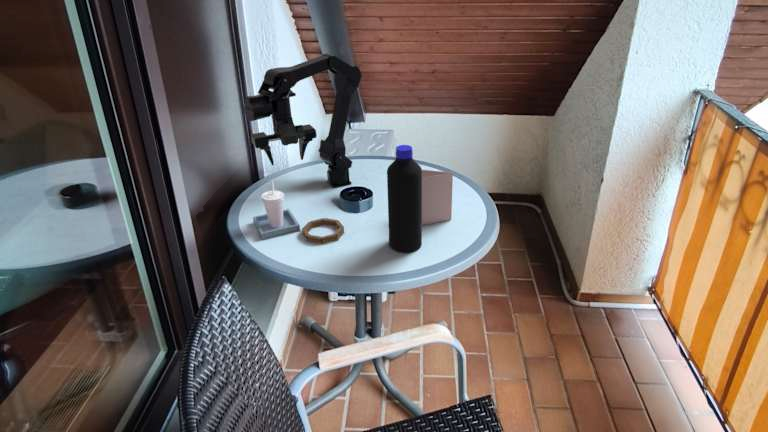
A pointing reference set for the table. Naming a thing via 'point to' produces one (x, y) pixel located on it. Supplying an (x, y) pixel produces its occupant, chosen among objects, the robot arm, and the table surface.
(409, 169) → the bottle
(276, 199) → the smoothie
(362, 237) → the table surface
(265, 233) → the tray
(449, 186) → the greeting card
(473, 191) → the table surface
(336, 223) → the collar
